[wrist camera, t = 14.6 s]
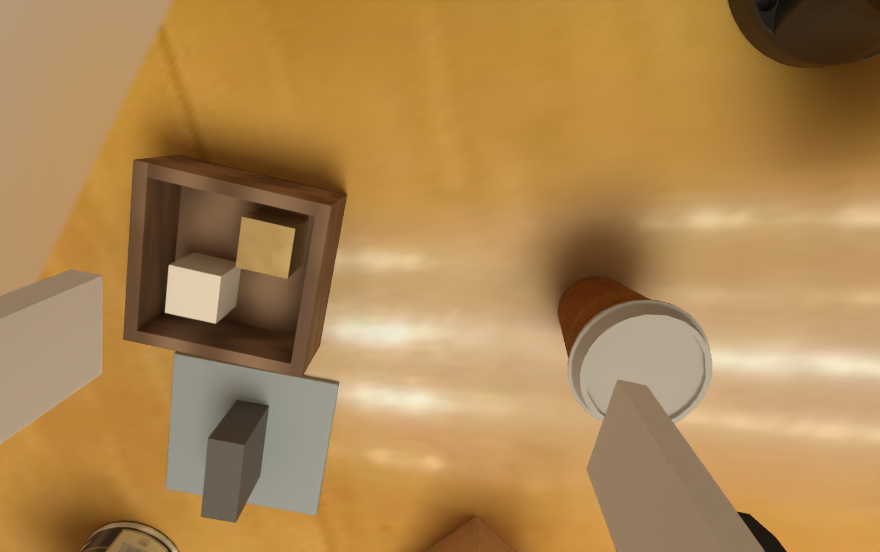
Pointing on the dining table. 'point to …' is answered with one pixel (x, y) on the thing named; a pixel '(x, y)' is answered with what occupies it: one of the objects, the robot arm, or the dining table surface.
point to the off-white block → (202, 287)
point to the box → (217, 234)
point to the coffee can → (127, 539)
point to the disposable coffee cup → (632, 347)
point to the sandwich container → (472, 539)
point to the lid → (247, 436)
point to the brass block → (271, 242)
